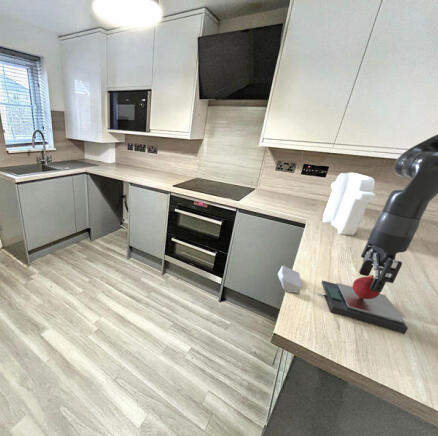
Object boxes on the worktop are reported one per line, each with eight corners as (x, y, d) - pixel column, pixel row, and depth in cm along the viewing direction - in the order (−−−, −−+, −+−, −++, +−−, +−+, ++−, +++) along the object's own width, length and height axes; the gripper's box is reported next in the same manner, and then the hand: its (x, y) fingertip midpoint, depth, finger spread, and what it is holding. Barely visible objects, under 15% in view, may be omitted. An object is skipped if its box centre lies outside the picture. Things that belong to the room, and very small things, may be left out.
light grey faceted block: (291, 301, 75) (302, 292, 71) (272, 290, 77) (281, 281, 73) (294, 278, 82) (304, 269, 78) (276, 269, 84) (285, 260, 80)
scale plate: (383, 297, 71) (385, 294, 71) (403, 324, 61) (405, 321, 60) (335, 285, 76) (336, 282, 75) (347, 308, 65) (348, 305, 65)
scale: (381, 301, 72) (385, 294, 71) (404, 334, 60) (409, 326, 60) (320, 285, 78) (322, 279, 78) (330, 312, 67) (333, 305, 66)
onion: (378, 307, 65) (390, 283, 62) (353, 301, 67) (364, 278, 64) (368, 295, 70) (379, 272, 67) (345, 289, 72) (355, 267, 69)
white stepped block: (367, 240, 117) (393, 180, 106) (342, 237, 118) (365, 178, 108) (337, 221, 142) (356, 171, 131) (316, 218, 143) (333, 169, 133)
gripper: (429, 244, 53) (398, 302, 59) (398, 224, 65) (375, 273, 71) (386, 236, 56) (360, 292, 62) (365, 218, 68) (345, 266, 74)
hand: (368, 282), depth 66 cm, fingers open, 8 cm apart
